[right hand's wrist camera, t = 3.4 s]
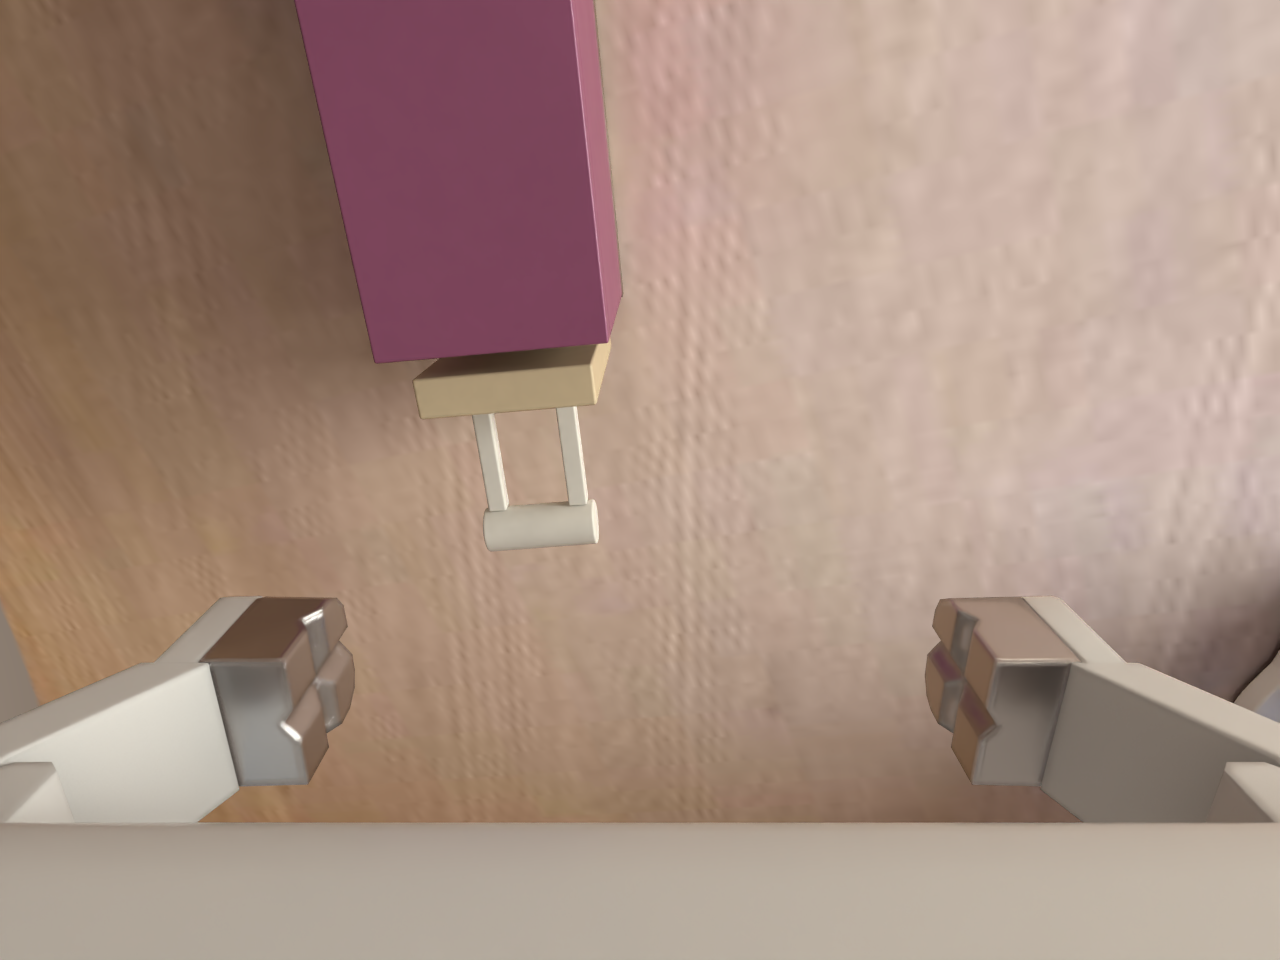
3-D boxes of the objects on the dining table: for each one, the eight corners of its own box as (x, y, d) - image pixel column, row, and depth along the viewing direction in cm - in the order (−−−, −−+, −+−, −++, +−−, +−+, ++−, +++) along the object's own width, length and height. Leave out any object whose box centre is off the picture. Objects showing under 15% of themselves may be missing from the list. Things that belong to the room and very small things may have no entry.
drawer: (625, 479, 31) (616, 574, 23) (501, 489, 31) (453, 586, 24) (548, -248, 23) (495, -465, 15) (379, -226, 23) (244, -429, 15)
